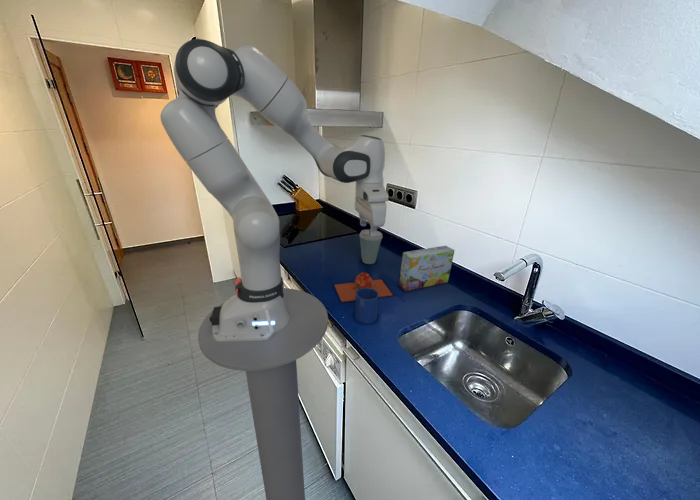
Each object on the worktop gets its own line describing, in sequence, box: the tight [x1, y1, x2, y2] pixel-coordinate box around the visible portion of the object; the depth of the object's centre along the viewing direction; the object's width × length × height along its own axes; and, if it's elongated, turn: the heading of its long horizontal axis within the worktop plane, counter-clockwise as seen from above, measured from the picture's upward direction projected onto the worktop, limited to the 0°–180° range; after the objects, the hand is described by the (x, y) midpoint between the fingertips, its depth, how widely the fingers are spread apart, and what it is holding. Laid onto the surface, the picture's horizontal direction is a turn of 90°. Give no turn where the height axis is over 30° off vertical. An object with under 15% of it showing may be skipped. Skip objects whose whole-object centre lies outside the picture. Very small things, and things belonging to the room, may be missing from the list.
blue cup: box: [354, 288, 380, 324], centre depth 94 cm, size 7×7×9 cm
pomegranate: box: [353, 271, 375, 289], centre depth 109 cm, size 7×7×10 cm
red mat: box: [333, 279, 393, 303], centre depth 111 cm, size 20×12×1 cm, turn 105°
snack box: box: [398, 245, 456, 292], centre depth 113 cm, size 21×6×15 cm, turn 114°
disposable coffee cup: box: [358, 229, 383, 265], centre depth 132 cm, size 11×11×15 cm
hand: (367, 230), depth 97 cm, fingers open, 8 cm apart
